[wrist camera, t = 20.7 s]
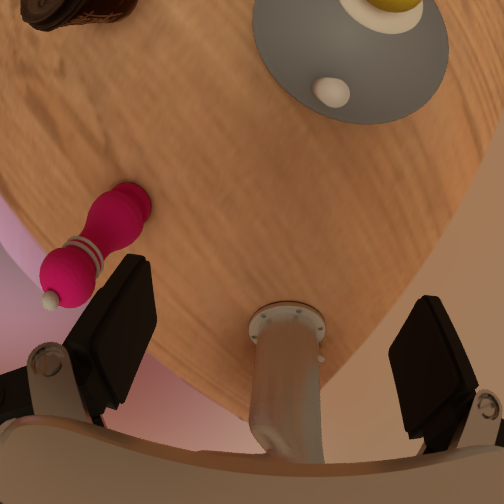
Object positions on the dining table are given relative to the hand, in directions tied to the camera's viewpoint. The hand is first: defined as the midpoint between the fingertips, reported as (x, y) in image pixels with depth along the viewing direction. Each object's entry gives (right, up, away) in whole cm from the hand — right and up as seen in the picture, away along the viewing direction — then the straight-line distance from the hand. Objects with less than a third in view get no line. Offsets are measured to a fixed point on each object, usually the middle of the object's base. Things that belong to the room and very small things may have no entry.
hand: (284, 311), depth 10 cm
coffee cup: (-17, +31, +12) cm, 37 cm away
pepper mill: (-17, +9, +28) cm, 34 cm away
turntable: (+9, +24, +12) cm, 28 cm away
